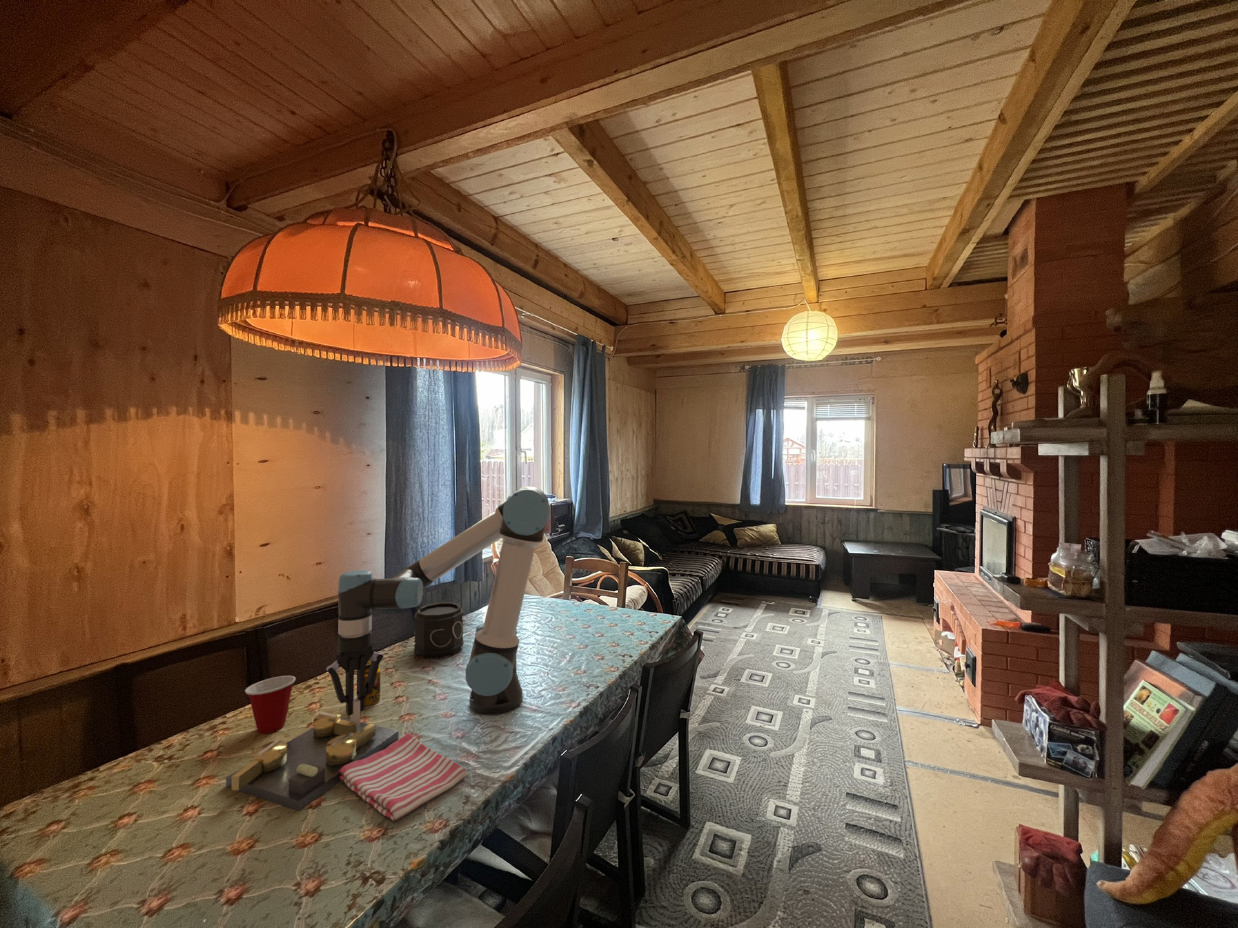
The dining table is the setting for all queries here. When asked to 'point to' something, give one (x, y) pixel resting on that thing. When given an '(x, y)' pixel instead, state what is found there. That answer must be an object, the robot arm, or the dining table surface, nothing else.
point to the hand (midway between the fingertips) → (355, 725)
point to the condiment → (375, 696)
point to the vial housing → (306, 778)
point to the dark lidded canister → (438, 630)
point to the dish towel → (401, 777)
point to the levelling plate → (310, 752)
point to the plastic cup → (270, 702)
